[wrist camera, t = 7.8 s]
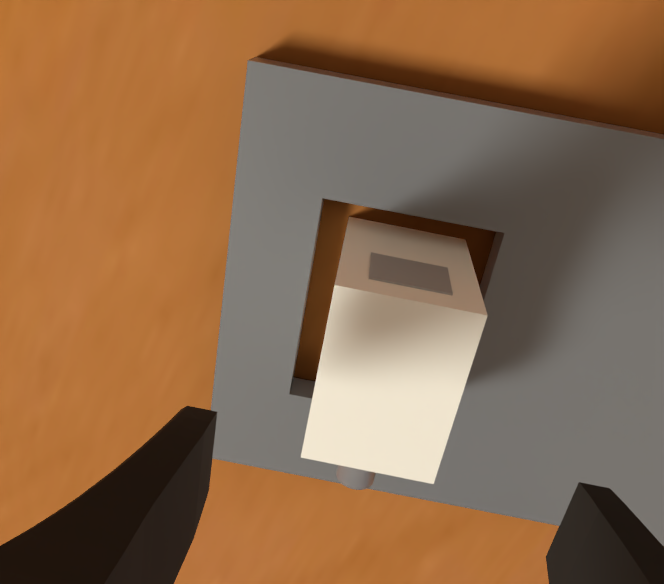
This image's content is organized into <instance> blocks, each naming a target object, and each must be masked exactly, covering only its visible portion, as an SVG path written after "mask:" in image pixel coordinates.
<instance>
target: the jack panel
mask: <svg viewBox="0 0 664 584" xmlns="http://www.w3.org/2000/svg"><path fill="white" fill-rule="evenodd" d="M324 199H329V200H334V201H339V202H345V203H350V204H355V205H360V206H366V207H371V208H376V209H381V210H386V211H392V212H397V213H402V214H407V215H413V216H418V217H423V218H428V219H434V220H439V221H444V222H449V223H454V224H460V225H465V226H470V227H475V228H481V229H486V230H491V231H496V234H495V237H494V240H493V244H492V247H491V250H490V254H489V257H488V260H487V264H486V267H485V270H484V274H483V277H482V280H481V284H480V287H479V288H480V291H481V294H482V298H483V301H484V305H485V308H486V311H487V315H488V316H487V319H486V322H485V325H484V328H483V332H482V335H481V338H480V341H479V344H478V347H477V350H476V353H475V357H474V360H473V363H472V366H471V369H470V372H469V375H468V378H467V381H466V385H465V388H464V391H463V394H462V397H461V400H460V403H459V406H458V410H457V413H456V416H455V419H454V422H453V425H452V428H451V431H450V434H449V438H448V441H447V444H446V447H445V450H444V453H443V456H442V459H441V462H440V466H439V469H438V472H437V475H436V478H435V481H434V484H430V483H425V482H420V481H415V480H410V479H405V478H400V477H395V476H390V475H385V474H380V473H376V474H375V478H374V482H373V484H372V485H371V486H370V487H369V488H367V489H373V490H378V491H383V492H388V493H393V494H398V495H403V496H409V497H414V498H419V499H424V500H429V501H434V502H440V503H445V504H450V505H455V506H460V507H465V508H470V509H476V510H481V511H486V512H491V513H496V514H501V515H506V516H512V517H517V518H522V519H527V520H532V521H537V522H543V523H548V524H553V525H558V526H560V524H561V522H562V519H563V517H564V515H565V513H566V510H567V508H568V506H569V503H570V501H571V499H572V497H573V494H574V492H575V490H576V488H577V485H578V483H579V482H581V483H586V484H591V485H596V486H601V487H607V488H610V489H611V490H612V491H613V492H614V493H615V494H616V495H617V496H618V497H619V498H620V499H621V500H622V501H623V502H624V503H625V504H626V505H627V507H628V508H629V509H630V510H631V511H632V512H633V513H634V514H635V515H636V516H637V518H638V519H639V520H640V521H641V522H642V523H643V524H644V525H645V526H646V528H647V529H648V530H649V531H650V532H651V533H652V534H653V535H654V536H655V538H656V539H657V540H658V541H659V542H660V543H661V544H662V545H663V546H664V134H659V133H654V132H649V131H644V130H638V129H633V128H628V127H623V126H617V125H612V124H607V123H601V122H596V121H591V120H586V119H580V118H575V117H570V116H565V115H559V114H554V113H549V112H543V111H538V110H533V109H528V108H522V107H517V106H512V105H507V104H501V103H496V102H491V101H485V100H480V99H475V98H470V97H464V96H459V95H454V94H449V93H443V92H438V91H433V90H427V89H422V88H417V87H412V86H406V85H401V84H396V83H391V82H385V81H380V80H375V79H370V78H364V77H359V76H354V75H348V74H343V73H338V72H333V71H327V70H322V69H317V68H312V67H306V66H301V65H296V64H290V63H285V62H280V61H275V60H269V59H264V58H259V57H254V58H252V59H250V60H248V64H247V74H246V83H245V93H244V102H243V112H242V121H241V131H240V140H239V150H238V159H237V169H236V178H235V188H234V197H233V206H232V216H231V225H230V235H229V244H228V254H227V263H226V273H225V282H224V292H223V301H222V311H221V320H220V330H219V339H218V349H217V358H216V367H215V377H214V386H213V396H212V405H211V411H216V412H217V420H216V429H215V438H214V447H213V456H212V458H213V459H218V460H223V461H228V462H234V463H239V464H244V465H249V466H254V467H259V468H264V469H270V470H275V471H280V472H285V473H290V474H295V475H301V476H306V477H311V478H316V479H321V480H326V481H331V482H337V483H341V482H340V481H339V480H338V479H337V476H336V469H337V465H336V464H331V463H326V462H321V461H316V460H311V459H306V458H301V453H302V448H303V443H304V437H305V432H306V427H307V422H308V417H309V412H310V407H311V402H312V397H313V392H314V387H315V381H310V380H305V379H300V378H295V377H294V372H295V367H296V361H297V355H298V349H299V343H300V337H301V331H302V326H303V320H304V314H305V308H306V302H307V296H308V290H309V285H310V279H311V273H312V267H313V261H314V255H315V249H316V243H317V238H318V232H319V226H320V220H321V214H322V208H323V202H324Z"/></svg>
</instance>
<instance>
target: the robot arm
mask: <svg viewBox="0 0 664 584" xmlns="http://www.w3.org/2000/svg"><path fill="white" fill-rule="evenodd" d="M216 420H217V412H216V411H211V410H206V409H200V408H195V407H190V406H186V407H185V408H183V409H181V410H180V411H179V412H178V413H177V414H176V415H175V416H174V417H173V418H172V419H171V420H170V421H169V422H168V423H167V424H166V425H165V426H164V427H163V428H162V429H161V430H159V431H158V432H157V433H156V434H155V435H154V436H153V437H152V438H151V439H150V440H149V441H147V442H146V443H145V444H144V445H143V446H142V447H141V448H139V449H138V450H137V451H136V452H135V453H134V454H132V455H131V456H130V457H129V458H128V459H126V460H125V461H124V462H123V463H122V464H121V465H119V466H118V467H117V468H116V469H114V470H113V471H112V472H111V473H109V474H108V475H107V476H105V477H104V478H103V479H101V480H100V481H99V482H98V483H96V484H95V485H94V486H92V487H91V488H90V489H88V490H87V491H86V492H84V493H83V494H82V495H80V496H79V497H78V498H76V499H75V500H73V501H72V502H70V503H69V504H67V505H66V506H65V507H63V508H62V509H60V510H59V511H57V512H56V513H54V514H53V515H51V516H50V517H48V518H46V519H45V520H43V521H42V522H40V523H38V524H37V525H35V526H34V527H32V528H30V529H29V530H27V531H25V532H24V533H22V534H20V535H18V536H17V537H15V538H13V539H12V540H10V541H8V542H6V543H5V544H3V545H1V546H0V584H174V582H175V579H176V577H177V575H178V573H179V570H180V568H181V566H182V564H183V561H184V559H185V557H186V554H187V552H188V550H189V548H190V545H191V543H192V541H193V538H194V535H195V532H196V529H197V526H198V523H199V520H200V517H201V514H202V510H203V507H204V504H205V501H206V498H207V494H208V491H209V483H210V474H211V465H212V456H213V447H214V438H215V429H216ZM546 561H547V569H548V578H549V584H664V546H663V545H662V544H661V543H660V542H659V541H658V540H657V539H656V538H655V536H654V535H653V534H652V533H651V532H650V531H649V530H648V529H647V528H646V526H645V525H644V524H643V523H642V522H641V521H640V520H639V519H638V518H637V516H636V515H635V514H634V513H633V512H632V511H631V510H630V509H629V508H628V507H627V505H626V504H625V503H624V502H623V501H622V500H621V499H620V498H619V497H618V496H617V495H616V494H615V493H614V492H613V491H612V490H611V489H610V488H607V487H601V486H596V485H591V484H586V483H581V482H579V483H578V485H577V488H576V490H575V492H574V494H573V497H572V499H571V501H570V503H569V506H568V508H567V510H566V513H565V515H564V517H563V519H562V522H561V524H560V526H559V528H558V531H557V533H556V535H555V538H554V540H553V542H552V544H551V547H550V549H549V551H548V553H547V556H546Z"/></svg>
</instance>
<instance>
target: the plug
mask: <svg viewBox="0 0 664 584" xmlns="http://www.w3.org/2000/svg"><path fill="white" fill-rule="evenodd" d="M487 316H488V315H487V311H486V308H485V305H484V301H483V298H482V294H481V291H480V288H479V284H478V281H477V277H476V274H475V271H474V267H473V264H472V260H471V257H470V253H469V250H468V247H467V243H466V240H465V239H461V238H455V237H450V236H445V235H440V234H435V233H430V232H425V231H420V230H415V229H410V228H405V227H400V226H395V225H390V224H385V223H380V222H375V221H369V220H364V219H359V218H354V217H349V219H348V223H347V228H346V233H345V238H344V242H343V247H342V252H341V257H340V261H339V266H338V271H337V276H336V280H335V285H334V290H333V295H332V300H331V305H330V311H329V316H328V321H327V326H326V331H325V336H324V341H323V346H322V351H321V356H320V361H319V366H318V371H317V377H316V382H315V387H314V392H313V397H312V402H311V407H310V412H309V417H308V422H307V427H306V432H305V437H304V443H303V448H302V453H301V458H306V459H311V460H316V461H321V462H326V463H331V464H336V465H337V469H336V476H337V479H338V480H339V481H340V482H341V483H342V484H343V485H344V486H346V487H348V488H351V489H356V490H362V489H366V488H369V487H370V486H371V485H372V484H373V482H374V478H375V474H376V473H380V474H385V475H390V476H395V477H400V478H405V479H410V480H415V481H420V482H425V483H430V484H434V481H435V478H436V475H437V472H438V469H439V466H440V462H441V459H442V456H443V453H444V450H445V447H446V444H447V441H448V438H449V434H450V431H451V428H452V425H453V422H454V419H455V416H456V413H457V410H458V406H459V403H460V400H461V397H462V394H463V391H464V388H465V385H466V381H467V378H468V375H469V372H470V369H471V366H472V363H473V360H474V357H475V353H476V350H477V347H478V344H479V341H480V338H481V335H482V332H483V328H484V325H485V322H486V319H487Z"/></svg>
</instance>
